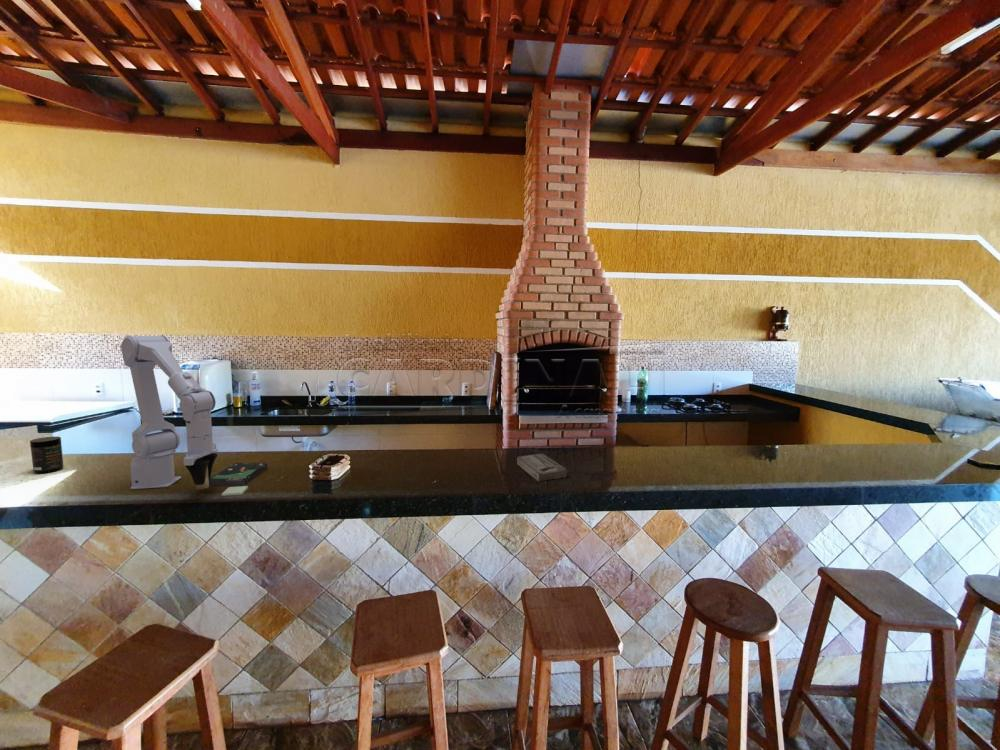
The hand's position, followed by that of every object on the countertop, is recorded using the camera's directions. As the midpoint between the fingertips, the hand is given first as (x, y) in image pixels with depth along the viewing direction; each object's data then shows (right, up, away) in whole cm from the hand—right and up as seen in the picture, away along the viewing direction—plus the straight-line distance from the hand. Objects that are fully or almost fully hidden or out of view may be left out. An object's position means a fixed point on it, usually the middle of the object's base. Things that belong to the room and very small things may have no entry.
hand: (202, 482), depth 117 cm
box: (+98, -3, +24) cm, 101 cm away
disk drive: (+2, -3, +14) cm, 15 cm away
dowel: (0, -2, 0) cm, 2 cm away
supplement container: (-61, -1, +17) cm, 64 cm away
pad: (+8, -3, +2) cm, 9 cm away
